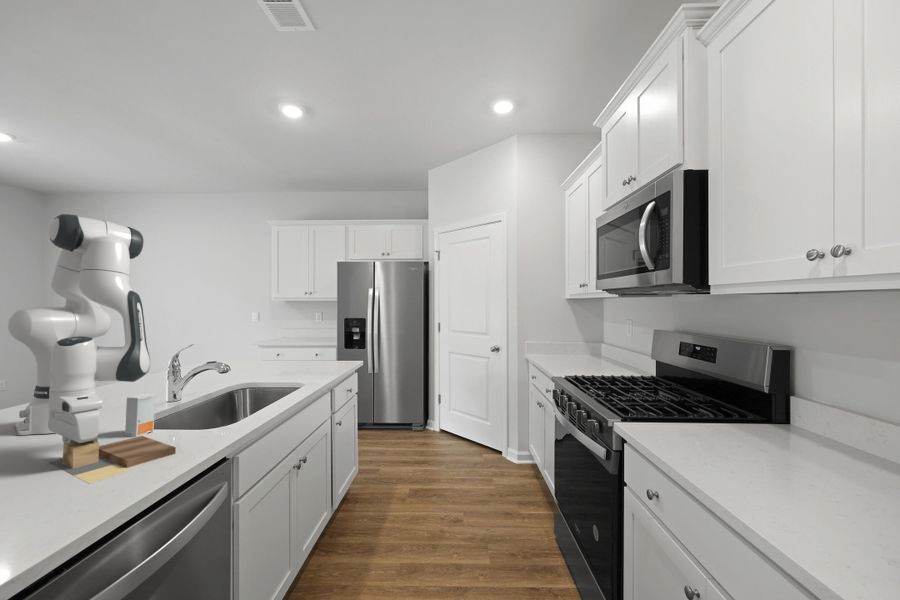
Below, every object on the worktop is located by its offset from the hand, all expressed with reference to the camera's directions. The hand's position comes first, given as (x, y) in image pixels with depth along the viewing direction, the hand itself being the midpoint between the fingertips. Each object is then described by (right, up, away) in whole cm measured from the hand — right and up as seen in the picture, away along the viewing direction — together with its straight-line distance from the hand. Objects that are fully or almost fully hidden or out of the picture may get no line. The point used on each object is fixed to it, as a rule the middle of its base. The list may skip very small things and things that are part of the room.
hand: (71, 453), depth 103 cm
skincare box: (+2, -2, +21) cm, 21 cm away
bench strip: (+9, -2, -5) cm, 10 cm away
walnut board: (+13, -2, +4) cm, 14 cm away
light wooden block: (+5, -1, -3) cm, 6 cm away
